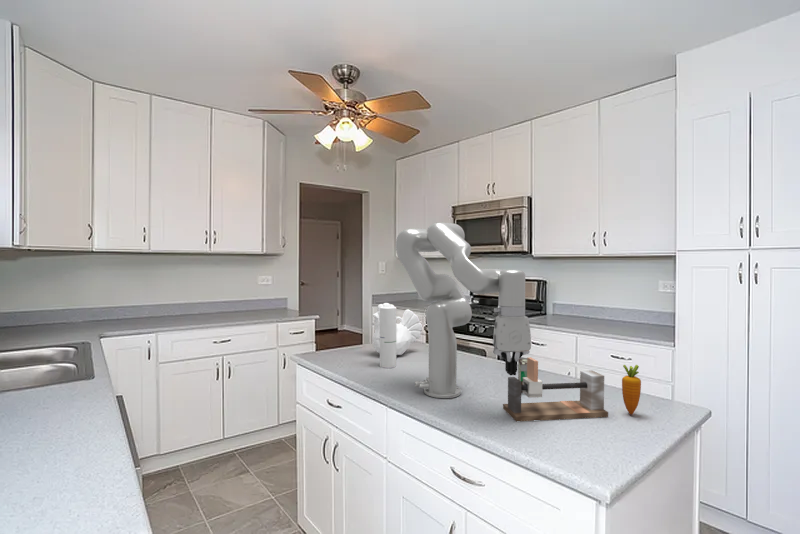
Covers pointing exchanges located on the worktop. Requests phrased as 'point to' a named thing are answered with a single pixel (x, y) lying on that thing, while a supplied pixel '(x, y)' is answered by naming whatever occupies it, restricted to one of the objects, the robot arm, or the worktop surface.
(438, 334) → the robot arm
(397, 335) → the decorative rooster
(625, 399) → the carrot
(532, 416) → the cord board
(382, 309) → the cylindrical container
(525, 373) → the food container
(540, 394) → the sleeve
